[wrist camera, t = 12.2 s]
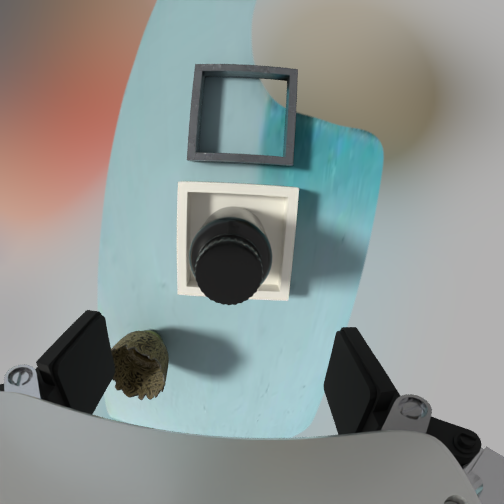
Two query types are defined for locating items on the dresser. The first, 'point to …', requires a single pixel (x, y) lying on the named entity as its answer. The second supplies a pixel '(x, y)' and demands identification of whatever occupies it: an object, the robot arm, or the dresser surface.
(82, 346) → the robot arm
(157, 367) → the olive rounded textured piece
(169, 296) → the dresser surface
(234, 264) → the supplement bottle
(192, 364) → the dresser surface
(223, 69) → the frame
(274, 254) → the white square tray
